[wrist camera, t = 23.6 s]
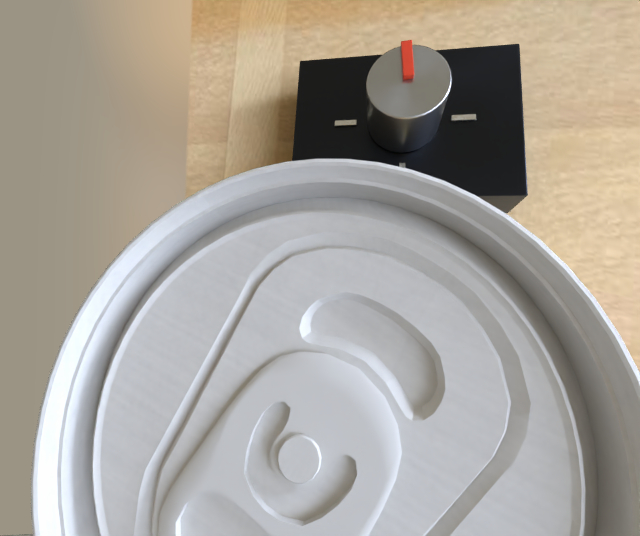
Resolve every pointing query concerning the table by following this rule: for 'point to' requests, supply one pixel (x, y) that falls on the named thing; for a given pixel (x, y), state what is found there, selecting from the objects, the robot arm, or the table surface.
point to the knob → (407, 96)
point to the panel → (454, 128)
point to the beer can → (338, 373)
